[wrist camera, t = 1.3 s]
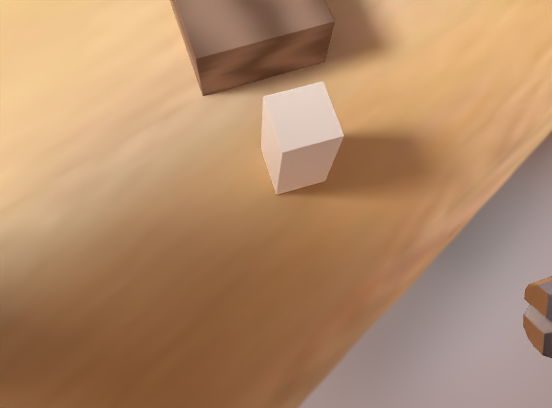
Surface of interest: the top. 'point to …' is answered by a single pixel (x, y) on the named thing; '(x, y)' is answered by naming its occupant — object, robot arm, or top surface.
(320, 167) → the cream block
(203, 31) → the walnut block
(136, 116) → the top surface
